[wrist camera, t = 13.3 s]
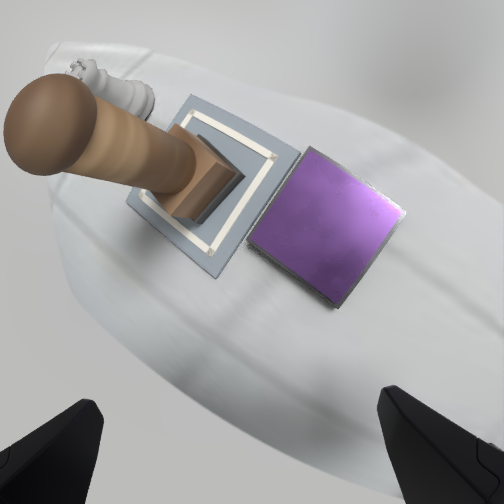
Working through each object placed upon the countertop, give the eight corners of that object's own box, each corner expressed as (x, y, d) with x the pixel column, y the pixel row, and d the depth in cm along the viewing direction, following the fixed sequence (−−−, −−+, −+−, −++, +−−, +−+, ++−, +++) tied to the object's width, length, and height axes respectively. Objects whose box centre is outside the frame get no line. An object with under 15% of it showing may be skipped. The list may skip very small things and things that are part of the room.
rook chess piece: (119, 138, 23) (50, 112, 15) (118, 98, 23) (57, 68, 15) (158, 118, 21) (90, 81, 14) (156, 78, 21) (96, 36, 14)
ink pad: (402, 214, 16) (408, 211, 15) (338, 305, 18) (337, 311, 16) (311, 151, 18) (308, 143, 16) (251, 239, 19) (242, 239, 18)
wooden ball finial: (245, 176, 19) (59, 74, 5) (202, 224, 20) (-6, 206, 6) (205, 137, 20) (35, 39, 6) (166, 183, 21) (-18, 137, 7)
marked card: (301, 153, 18) (300, 151, 18) (217, 277, 20) (214, 278, 20) (193, 96, 20) (190, 93, 20) (128, 201, 22) (124, 201, 22)
